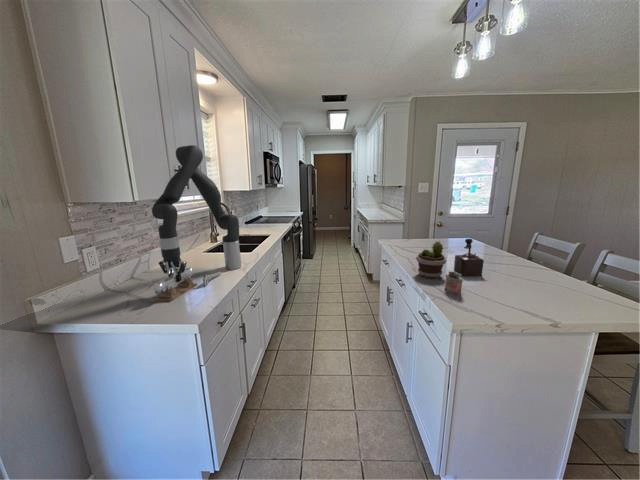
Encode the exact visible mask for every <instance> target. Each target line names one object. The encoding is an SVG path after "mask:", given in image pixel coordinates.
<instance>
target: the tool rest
mask: <svg viewBox="0 0 640 480" xmlns="http://www.w3.org/2000/svg"><path fill="white" fill-rule="evenodd" d="M196 286H198V283H197V282H196V283H195V282H194V280H193V278H192V277H190V276H188V279H186V280H184V281H183V282H181V283H179V284H177V285H175V286H170V289H168V290H166V291H164V292H163V293H160V294H157V295H158V296H157V297H155V298H153V300H154V302H166V303H170V302H172V301H174V300H176V299H177V298H178V297H181V296H182V295H183V294H185V293H187V292H188V291H190V290H192V289H194V288H195V287H196Z"/></svg>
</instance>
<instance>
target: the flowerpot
mask: <svg viewBox="0 0 640 480" xmlns="http://www.w3.org/2000/svg"><path fill="white" fill-rule="evenodd" d="M431 245H432V246H431V249H428V248H426V249H425V248H423V249H422V251H421V252H419V253H418V255H416V257H415V259H416V261H417V263H418V268H417V272H418V274H419V275H420V277H422V278H423V277H424V278H426V279H431V280H432V279H439V278H440V277H441V276H442V274H443V270H442V269H443V267H444V265H445V264H446V263H447V259H446V257H445V256H444V254H443V253H444V245H443V244H442V242H441V241H440V239H438V240H437V241H434V243H432V244H431Z"/></svg>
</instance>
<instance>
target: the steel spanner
mask: <svg viewBox="0 0 640 480" xmlns="http://www.w3.org/2000/svg"><path fill="white" fill-rule="evenodd" d="M175 275H176V274H175V273H174V275H172V276H170V277H169V276H168V277H166V278H164V279H161V280H160V281H157V282H155V283H154V284H153V287H154V293H155V294H156V295H158V294H160V293H163V292H164V291H166V290H168V289H170V286H173V287H176V286H177V284H179V283H181V282H183V281H184V280H186V279H188V276H190V278H192V277H193V276H194V272H193V267H185V271H184V272H183V273H181V281H180V282H177V281H176V276H175Z"/></svg>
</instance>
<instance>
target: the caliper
mask: <svg viewBox="0 0 640 480" xmlns="http://www.w3.org/2000/svg"><path fill="white" fill-rule="evenodd" d="M222 273H223V272H222V271H218V272H215V273H213V274H203V277H202V284H203V287H208V285H209V281H211V280H212V278H215V277H218V276H220V275H222Z"/></svg>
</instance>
